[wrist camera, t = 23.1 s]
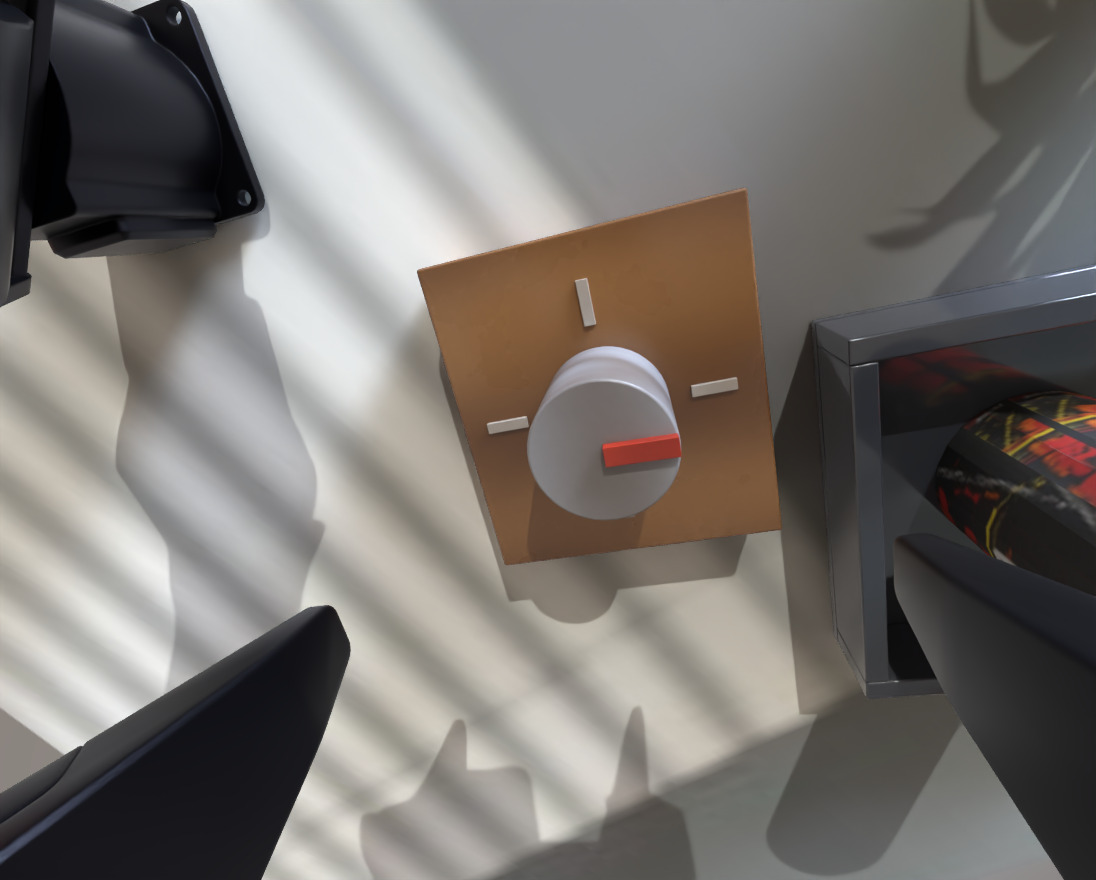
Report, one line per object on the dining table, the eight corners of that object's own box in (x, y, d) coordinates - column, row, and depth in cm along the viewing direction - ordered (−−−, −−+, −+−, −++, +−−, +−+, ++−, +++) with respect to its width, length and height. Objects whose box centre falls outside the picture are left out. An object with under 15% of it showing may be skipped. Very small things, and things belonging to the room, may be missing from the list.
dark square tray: (810, 320, 19) (848, 339, 16) (1297, 223, 16) (1463, 222, 13) (833, 635, 24) (866, 700, 20) (1218, 600, 21) (1328, 669, 18)
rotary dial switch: (444, 263, 20) (413, 270, 17) (728, 192, 18) (748, 186, 15) (518, 526, 24) (504, 568, 21) (762, 491, 22) (784, 533, 19)
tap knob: (559, 470, 19) (542, 535, 15) (534, 358, 18) (508, 397, 14) (677, 453, 18) (691, 517, 14) (660, 334, 17) (671, 368, 13)
